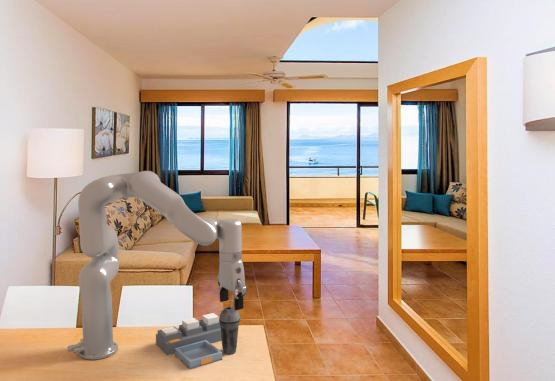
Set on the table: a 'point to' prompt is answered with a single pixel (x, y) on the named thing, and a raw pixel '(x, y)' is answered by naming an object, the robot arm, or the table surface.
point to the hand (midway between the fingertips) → (231, 305)
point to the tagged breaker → (169, 331)
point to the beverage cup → (229, 329)
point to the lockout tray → (198, 354)
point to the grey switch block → (191, 333)
